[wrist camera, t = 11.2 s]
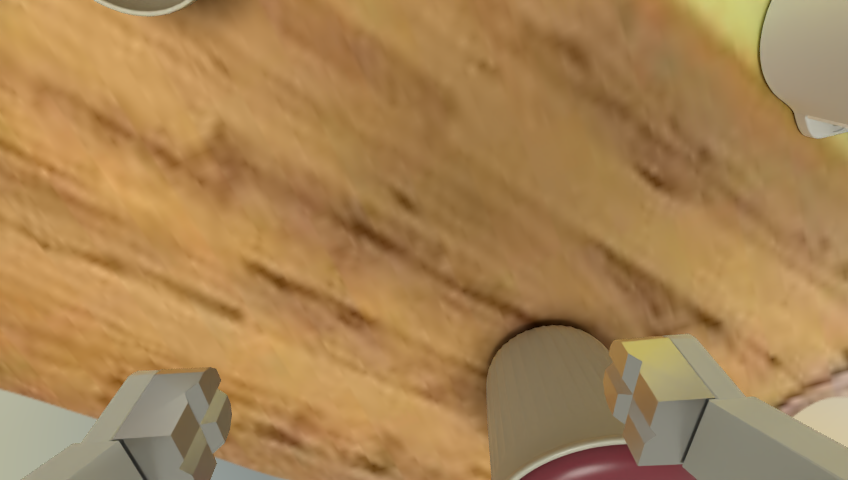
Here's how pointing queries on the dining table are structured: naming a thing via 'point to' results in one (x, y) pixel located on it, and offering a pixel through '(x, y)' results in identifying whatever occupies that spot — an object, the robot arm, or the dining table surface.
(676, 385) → the robot arm
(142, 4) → the flower pot
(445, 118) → the dining table surface
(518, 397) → the canister
